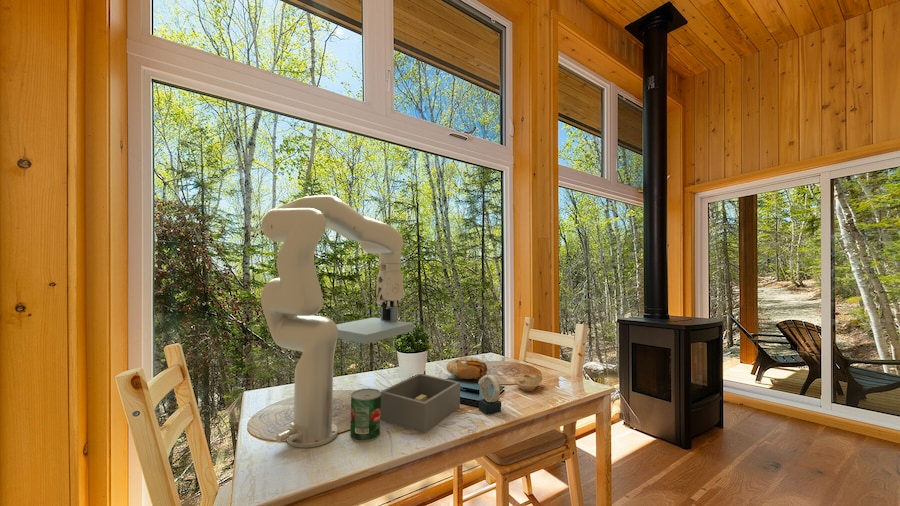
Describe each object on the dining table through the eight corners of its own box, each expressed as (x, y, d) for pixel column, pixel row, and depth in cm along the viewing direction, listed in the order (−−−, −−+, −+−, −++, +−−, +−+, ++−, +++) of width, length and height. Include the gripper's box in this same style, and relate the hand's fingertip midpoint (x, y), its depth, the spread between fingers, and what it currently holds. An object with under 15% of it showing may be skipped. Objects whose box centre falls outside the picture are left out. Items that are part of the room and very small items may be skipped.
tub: (424, 433, 99) (425, 403, 99) (379, 419, 107) (379, 391, 107) (459, 407, 116) (460, 382, 116) (418, 396, 124) (419, 373, 124)
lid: (365, 343, 108) (366, 317, 108) (322, 335, 118) (323, 311, 118) (413, 330, 127) (413, 308, 127) (373, 324, 137) (373, 304, 137)
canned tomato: (348, 430, 100) (349, 390, 100) (376, 425, 103) (377, 386, 103) (352, 444, 92) (353, 401, 92) (383, 439, 95) (384, 397, 96)
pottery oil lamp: (550, 386, 136) (551, 372, 132) (527, 403, 130) (527, 389, 127) (533, 372, 142) (533, 359, 139) (510, 387, 136) (510, 374, 133)
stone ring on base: (489, 404, 119) (490, 370, 119) (504, 414, 112) (505, 378, 112) (475, 407, 116) (475, 373, 117) (489, 417, 109) (489, 381, 109)
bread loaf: (504, 385, 138) (472, 395, 130) (470, 367, 156) (440, 374, 148) (504, 365, 137) (472, 374, 129) (470, 349, 155) (440, 355, 147)
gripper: (382, 269, 122) (381, 324, 122) (411, 268, 136) (410, 317, 135) (366, 268, 126) (365, 321, 126) (396, 267, 139) (395, 315, 139)
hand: (388, 319), depth 131 cm, fingers closed on lid
